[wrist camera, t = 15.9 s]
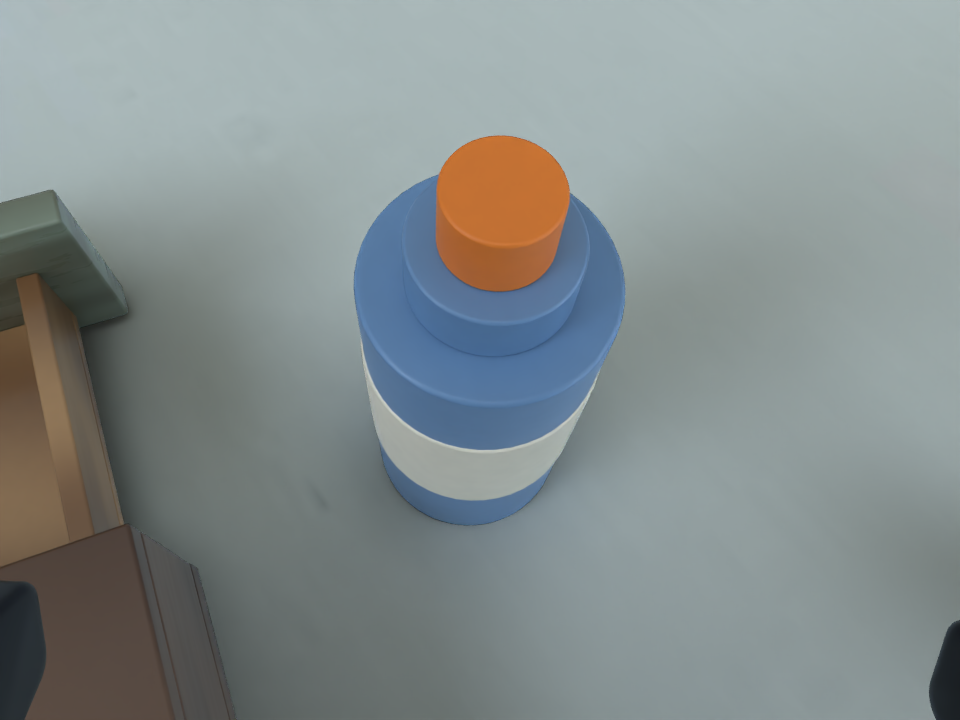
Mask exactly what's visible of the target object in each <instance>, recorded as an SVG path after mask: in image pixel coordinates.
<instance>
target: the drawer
mask: <svg viewBox="0 0 960 720" xmlns="http://www.w3.org/2000/svg"><path fill="white" fill-rule="evenodd" d="M127 313H128V308H127V304H126V300H125V296H124V293H123V289H122V286H121V285H120V283H119V282H118V280H117V279H116V277H115V276H114V275H113V273H112V272H111V270H110V269H109V267H108V266H107V265H106V263H105V262H104V260H103V259H102V258H101V256H100V255H99V253H98V252H97V250H96V249H95V248H94V246H93V245H92V243H91V242H90V240H89V239H88V238H87V236H86V235H85V233H84V232H83V231H82V229H81V228H80V226H79V225H78V223H77V222H76V221H75V219H74V218H73V216H72V215H71V213H70V212H69V211H68V209H67V208H66V206H65V205H64V204H63V202H62V201H61V199H60V198H59V196H58V195H57V194H56V192H55V191H54V190H47V191H44V192H40V193H36V194H32V195H29V196H25V197H21V198H17V199H14V200H10V201H6V202H2V203H0V567H1V566H4V565H7V564H10V563H13V562H16V561H19V560H22V559H24V558H27V557H30V556H33V555H36V554H39V553H42V552H45V551H48V550H51V549H53V548H56V547H59V546H62V545H65V544H68V543H71V542H74V541H77V540H80V539H83V538H85V537H88V536H91V535H94V534H97V533H100V532H103V531H106V530H109V529H112V528H114V527H117V526H120V525H123V524H124V522H123V517H122V513H121V509H120V504H119V500H118V495H117V491H116V487H115V482H114V478H113V474H112V469H111V465H110V461H109V456H108V452H107V448H106V443H105V439H104V435H103V430H102V426H101V422H100V417H99V413H98V409H97V404H96V400H95V396H94V391H93V387H92V383H91V378H90V374H89V370H88V365H87V361H86V356H85V352H84V348H83V343H82V339H81V335H80V330H79V328H81V327H84V326H88V325H91V324H94V323H98V322H101V321H105V320H108V319H111V318H115V317H118V316H121V315H125V314H127Z"/></svg>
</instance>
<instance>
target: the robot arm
mask: <svg viewBox="0 0 960 720" xmlns="http://www.w3.org/2000/svg"><path fill="white" fill-rule="evenodd" d="M45 664H46V644H45V637H44V631H43V624H42V618H41V611H40V605H39V599H38V594H37V591H36V589H35V587H34V586H33V585H32V584H30V583H28V582H25V581H4V580H0V720H25V717H26V715H27V713H28V710H29V708H30V705H31V703H32V701H33V698H34V696H35V693H36V691H37V689H38V686H39V684H40V681H41V679H42V676H43V673H44V669H45ZM929 697H930V703H931V708H932V711H933V714H934V716H935V718H936V720H960V620H958V621H956V622H954V623H952V624H951V626H950V627H949V628H948V630H947V632H946V635H945V638H944V641H943V644H942V647H941V650H940V654H939V657H938V660H937V663H936V666H935V669H934V672H933V675H932V678H931V681H930V688H929Z"/></svg>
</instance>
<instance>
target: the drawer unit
mask: <svg viewBox="0 0 960 720" xmlns="http://www.w3.org/2000/svg"><path fill="white" fill-rule="evenodd" d="M0 580H4V581H25V582H28V583H30V584H32V585H33V586H34V587H35V589H36V591H37V594H38V599H39V605H40V611H41V618H42V624H43V631H44V637H45V644H46V664H45V669H44V673H43V676H42V679H41V681H40V684H39V686H38V689H37V691H36V693H35V696H34V698H33V701H32V703H31V705H30V708H29V710H28V713H27V715H26V717H25V720H237V719H236V716H235V712H234V708H233V704H232V700H231V696H230V692H229V688H228V685H227V681H226V677H225V673H224V669H223V665H222V661H221V657H220V653H219V650H218V646H217V642H216V638H215V634H214V630H213V626H212V622H211V618H210V615H209V611H208V607H207V603H206V599H205V595H204V591H203V587H202V584H201V580H200V576H199V572H198V569H197V568H196V567H195V566H193V565H192V564H190V563H187V562H186V561H184V560H183V559H181V558H180V557H178V556H177V555H175V554H174V553H172V552H171V551H169V550H168V549H166V548H165V547H163V546H162V545H160V544H159V543H157V542H156V541H154V540H153V539H151V538H150V537H148V536H147V535H145V534H144V533H142V532H139V530H137V529H136V528H134V527H133V526H131V525H130V524H123V525H120V526H117V527H114V528H112V529H109V530H106V531H103V532H100V533H97V534H94V535H91V536H88V537H85V538H83V539H80V540H77V541H74V542H71V543H68V544H65V545H62V546H59V547H56V548H53V549H51V550H48V551H45V552H42V553H39V554H36V555H33V556H30V557H27V558H24V559H22V560H19V561H16V562H13V563H10V564H7V565H4V566H1V567H0Z"/></svg>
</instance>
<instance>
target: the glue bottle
mask: <svg viewBox="0 0 960 720" xmlns="http://www.w3.org/2000/svg"><path fill="white" fill-rule="evenodd" d="M354 295H355V303H356V310H357V315H358V321H359V327H360V333H361V352H362V360H363V366H364V372H365V377H366V383H367V388H368V394H369V399H370V405H371V410H372V416H373V421H374V425H375V429H376V432H377V435H378V437H379V442H380V448H381V454H382V458H383V462H384V466H385V469H386V471H387V473H388V476H389V478H390V479H391V481H392V483H393V485H394V486H395V488H396V489H397V490H398V492H399V493H400V494H401V495H402V496H403V497H404V498H405V499H406V500H407V501H408V502H409V503H410V504H411V505H412V506H414V507H415V508H416V509H418V510H419V511H421V512H422V513H424V514H426V515H428V516H430V517H432V518H435V519H437V520H440V521H443V522H447V523H451V524H458V525H480V524H486V523H491V522H494V521H498V520H501V519H503V518H505V517H507V516H510V515H511V514H513V513H515V512H516V511H518V510H520V509H521V508H522V507H523V506H525V505H526V504H527V503H528V502H529V501H530V500H531V499H532V498H533V497H534V496H535V495H536V494H537V493H538V491H539V490H540V488H541V487H542V486H543V484H544V482H545V480H546V478H547V476H548V474H549V472H550V470H551V468H552V466H553V464H554V463H555V461H556V460H557V459H558V457H559V456H560V454H561V453H562V451H563V449H564V447H565V445H566V443H567V441H568V439H569V437H570V435H571V433H572V431H573V429H574V427H575V425H576V423H577V421H578V419H579V417H580V415H581V413H582V411H583V409H584V407H585V405H586V403H587V401H588V399H589V397H590V395H591V393H592V391H593V389H594V387H595V384H596V381H597V378H598V375H599V372H600V368H601V366H602V364H603V362H604V360H605V358H606V356H607V354H608V352H609V350H610V348H611V346H612V344H613V341H614V339H615V337H616V335H617V333H618V330H619V327H620V324H621V321H622V317H623V311H624V306H625V282H624V273H623V269H622V265H621V261H620V258H619V255H618V253H617V250H616V248H615V246H614V243H613V241H612V239H611V238H610V236H609V234H608V232H607V231H606V229H605V228H604V226H603V225H602V224H601V222H600V221H599V220H598V218H597V217H596V216H595V215H594V214H593V213H592V212H591V211H590V210H589V209H588V208H587V207H586V206H585V205H584V204H583V203H582V202H581V201H580V200H578V199H577V198H576V197H574V196H573V195H572V194H571V193H570V190H569V185H568V181H567V178H566V176H565V173H564V171H563V170H562V168H561V166H560V165H559V163H558V162H557V161H556V159H555V158H554V157H553V156H552V155H551V154H549V153H548V152H547V151H546V150H544V149H543V148H541V147H540V146H538V145H536V144H534V143H532V142H530V141H527V140H524V139H521V138H517V137H512V136H488V137H484V138H479V139H477V140H474V141H471V142H469V143H467V144H465V145H464V146H462V147H460V148H459V149H458V150H456V151H455V152H454V153H453V154H452V155H451V156H450V157H449V158H448V160H447V161H446V162H445V164H444V165H443V167H442V169H441V171H440V173H439V175H436V176H433V177H431V178H428V179H426V180H424V181H422V182H420V183H418V184H416V185H414V186H413V187H411V188H409V189H408V190H406V191H405V192H403V193H402V194H401V195H399V196H398V197H397V198H396V199H395V200H393V201H392V202H391V203H390V204H389V205H388V206H387V207H386V208H385V209H384V210H383V211H382V212H381V214H380V215H379V216H378V217H377V219H376V220H375V221H374V223H373V224H372V226H371V227H370V229H369V230H368V232H367V234H366V236H365V238H364V240H363V242H362V245H361V248H360V251H359V254H358V257H357V261H356V267H355V272H354Z"/></svg>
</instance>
